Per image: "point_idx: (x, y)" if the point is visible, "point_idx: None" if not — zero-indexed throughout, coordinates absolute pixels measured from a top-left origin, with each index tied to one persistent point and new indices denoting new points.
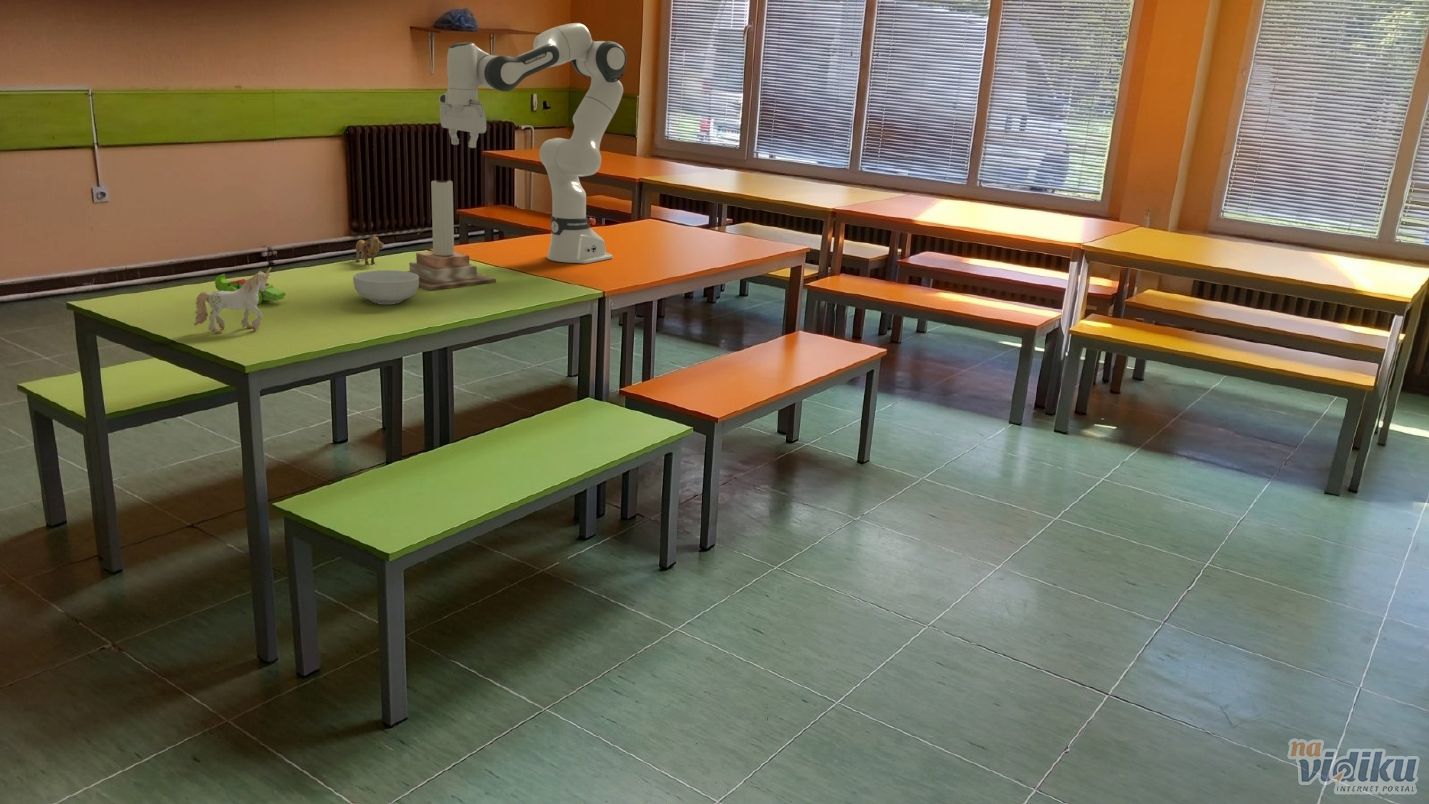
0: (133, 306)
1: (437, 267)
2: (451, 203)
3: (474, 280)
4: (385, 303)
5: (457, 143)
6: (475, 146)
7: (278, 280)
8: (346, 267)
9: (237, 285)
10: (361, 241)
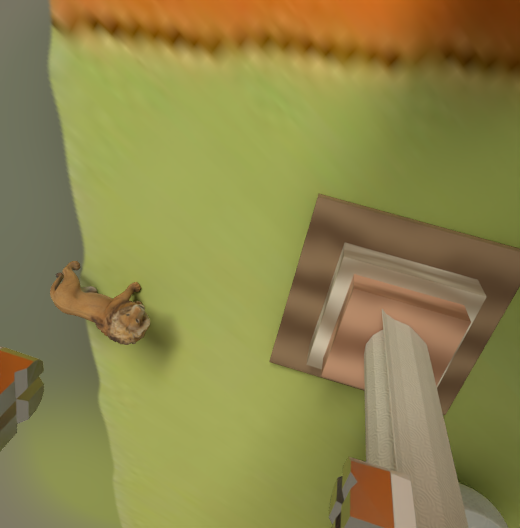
0: None
1: None
2: (459, 487)
3: (492, 307)
4: None
5: (36, 376)
6: (408, 487)
7: (165, 478)
8: (134, 345)
9: None
10: (72, 312)
